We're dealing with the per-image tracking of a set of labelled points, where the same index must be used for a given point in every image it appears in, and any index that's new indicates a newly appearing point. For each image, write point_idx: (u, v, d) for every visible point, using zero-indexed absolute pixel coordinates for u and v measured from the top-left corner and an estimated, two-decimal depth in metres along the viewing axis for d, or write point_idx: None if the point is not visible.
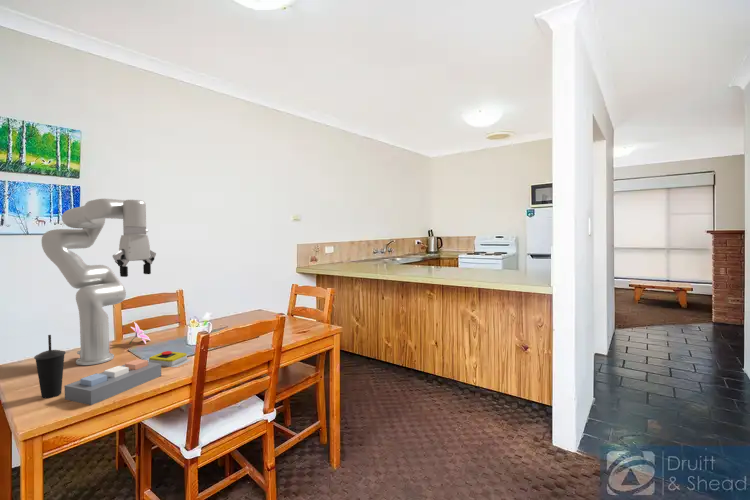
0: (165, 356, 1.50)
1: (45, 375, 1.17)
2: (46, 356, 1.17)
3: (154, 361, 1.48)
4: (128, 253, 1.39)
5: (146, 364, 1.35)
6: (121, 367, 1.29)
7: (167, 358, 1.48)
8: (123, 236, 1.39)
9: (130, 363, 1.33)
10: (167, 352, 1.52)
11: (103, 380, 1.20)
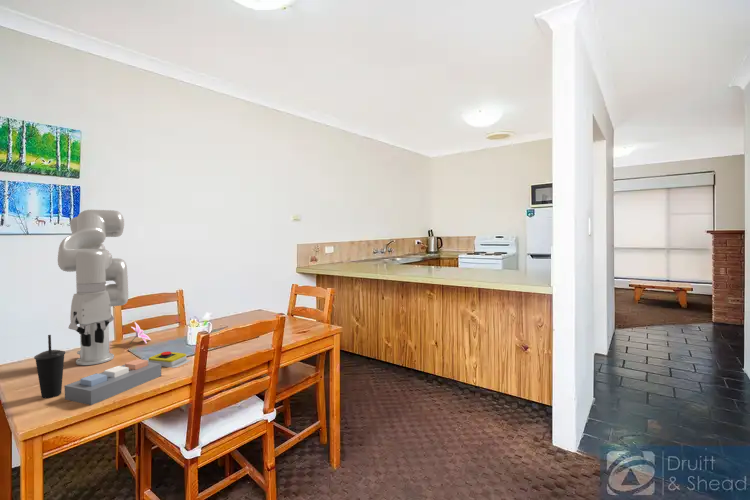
0: (164, 356, 1.50)
1: (45, 375, 1.17)
2: (46, 356, 1.17)
3: (154, 361, 1.48)
4: (81, 316, 1.14)
5: (146, 364, 1.35)
6: (121, 367, 1.29)
7: (166, 358, 1.48)
8: (75, 296, 1.14)
9: (130, 363, 1.33)
10: (166, 352, 1.52)
11: (103, 380, 1.20)
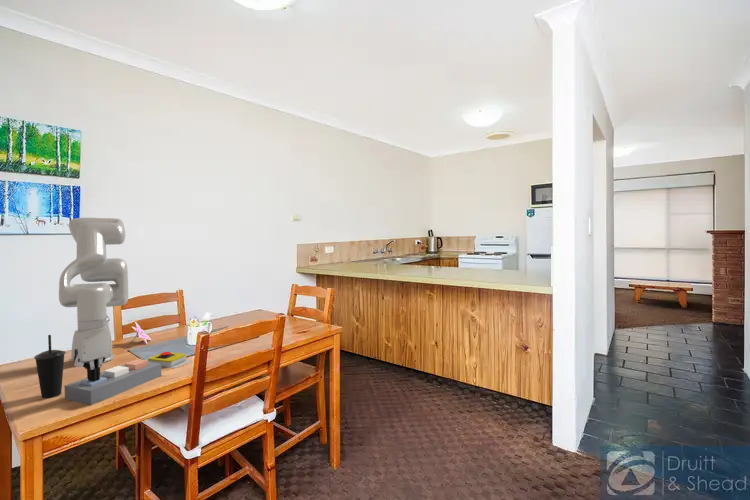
0: (164, 357, 1.50)
1: (45, 375, 1.17)
2: (46, 356, 1.17)
3: (153, 361, 1.47)
4: (82, 354, 1.14)
5: (146, 364, 1.35)
6: (121, 367, 1.29)
7: (166, 359, 1.48)
8: (76, 333, 1.15)
9: (130, 363, 1.33)
10: (166, 353, 1.51)
11: None
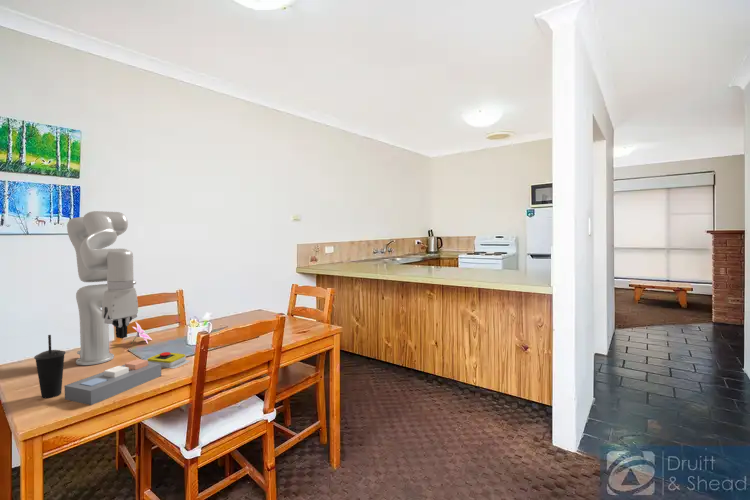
0: (163, 357, 1.49)
1: (45, 375, 1.17)
2: (46, 356, 1.17)
3: (153, 362, 1.47)
4: (112, 312, 1.23)
5: (146, 364, 1.35)
6: (121, 367, 1.29)
7: (165, 359, 1.47)
8: (106, 292, 1.24)
9: (130, 363, 1.33)
10: (166, 353, 1.51)
11: None
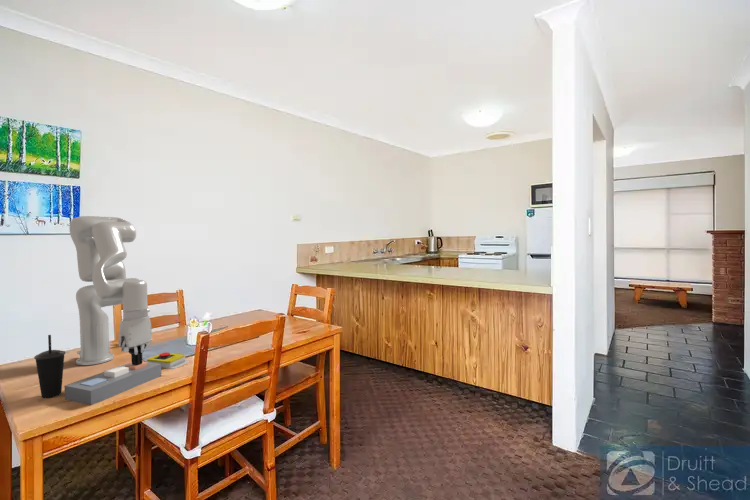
0: (163, 357, 1.49)
1: (45, 375, 1.17)
2: (46, 356, 1.17)
3: (152, 362, 1.47)
4: (128, 340, 1.29)
5: None
6: (121, 367, 1.29)
7: (165, 359, 1.47)
8: (123, 322, 1.29)
9: (130, 365, 1.33)
10: (165, 353, 1.50)
11: None
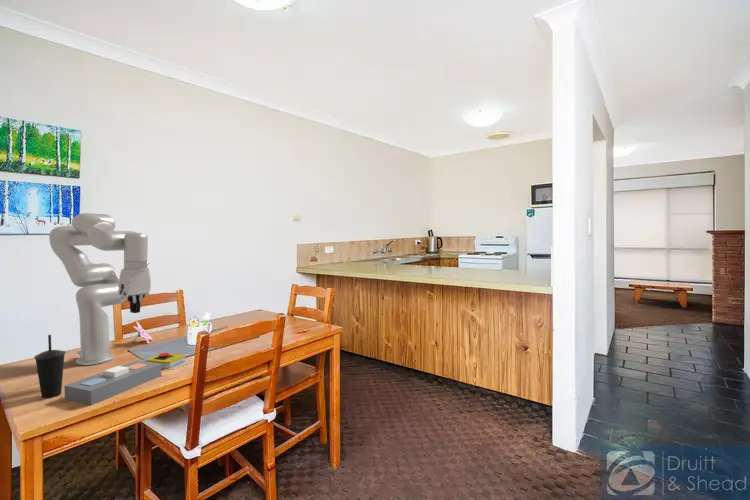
0: (162, 358, 1.48)
1: (45, 375, 1.17)
2: (46, 356, 1.17)
3: None
4: (127, 288, 1.36)
5: None
6: (121, 367, 1.29)
7: (164, 360, 1.46)
8: (123, 271, 1.36)
9: (130, 367, 1.33)
10: (164, 354, 1.50)
11: None
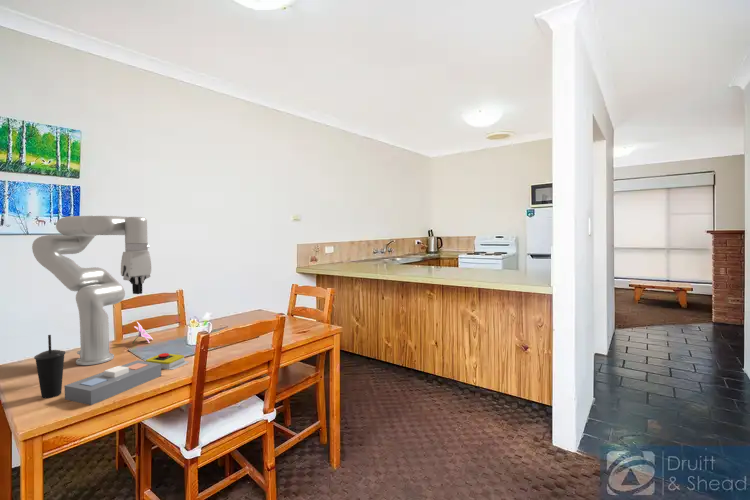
0: (162, 358, 1.48)
1: (45, 375, 1.17)
2: (46, 356, 1.17)
3: None
4: (130, 269, 1.42)
5: None
6: (121, 367, 1.29)
7: (164, 360, 1.46)
8: (125, 253, 1.42)
9: (130, 367, 1.33)
10: (164, 354, 1.49)
11: None
